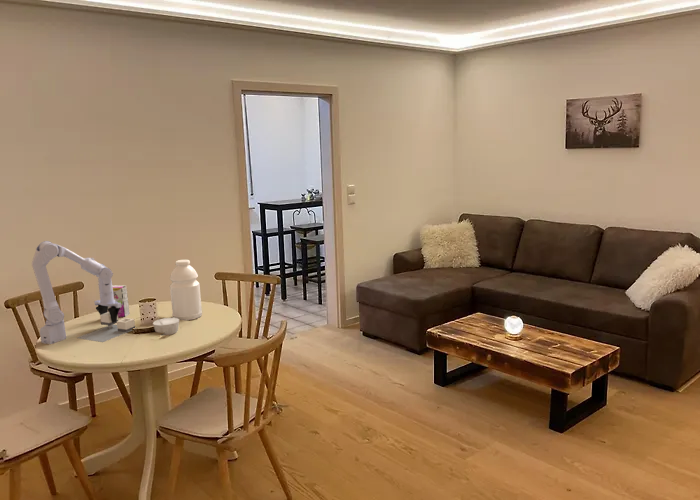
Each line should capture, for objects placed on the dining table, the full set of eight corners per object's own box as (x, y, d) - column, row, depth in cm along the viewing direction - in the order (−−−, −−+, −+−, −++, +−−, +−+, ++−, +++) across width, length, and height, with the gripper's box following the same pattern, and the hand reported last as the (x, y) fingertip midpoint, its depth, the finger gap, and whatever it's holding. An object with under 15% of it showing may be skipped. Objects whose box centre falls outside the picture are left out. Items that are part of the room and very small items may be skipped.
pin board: (103, 345, 242) (102, 335, 241) (76, 341, 248) (75, 331, 248) (138, 330, 259) (137, 321, 259) (112, 327, 266) (111, 318, 265)
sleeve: (109, 325, 257) (108, 316, 256) (101, 324, 259) (100, 314, 259) (118, 322, 262) (117, 312, 261) (110, 321, 264) (109, 311, 263)
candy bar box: (103, 320, 278) (99, 287, 275) (108, 317, 283) (105, 285, 280) (125, 320, 277) (121, 287, 274) (130, 317, 282) (126, 284, 279)
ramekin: (148, 334, 254) (147, 323, 253) (167, 327, 264) (166, 316, 263) (166, 337, 249) (165, 326, 248) (185, 330, 259) (184, 319, 258)
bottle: (178, 323, 269) (173, 265, 264) (168, 316, 280) (163, 260, 275) (206, 316, 277) (202, 260, 272) (196, 310, 288) (191, 256, 283)
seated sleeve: (126, 332, 253) (125, 322, 253) (117, 330, 256) (116, 321, 255) (135, 328, 258) (134, 319, 257) (126, 327, 260) (125, 317, 259)
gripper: (125, 291, 258) (128, 320, 261) (101, 289, 265) (105, 317, 267) (112, 295, 252) (116, 325, 255) (89, 293, 258) (92, 321, 261)
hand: (109, 321), depth 261 cm, fingers closed on sleeve, 5 cm apart
